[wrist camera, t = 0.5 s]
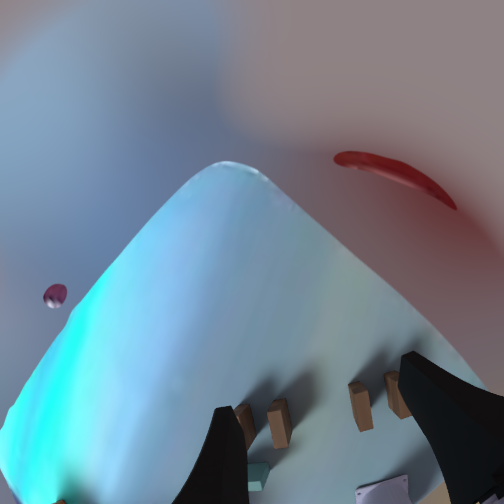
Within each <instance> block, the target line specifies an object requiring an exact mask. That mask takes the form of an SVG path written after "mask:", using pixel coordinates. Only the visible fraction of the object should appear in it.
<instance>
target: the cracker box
mask: <svg viewBox="0 0 504 504" xmlns="http://www.w3.org/2000/svg"><path fill="white" fill-rule="evenodd" d="M53 504H66V503H65V502H64V501H63V500H61V501H58V502H55V503H53Z"/></svg>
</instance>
